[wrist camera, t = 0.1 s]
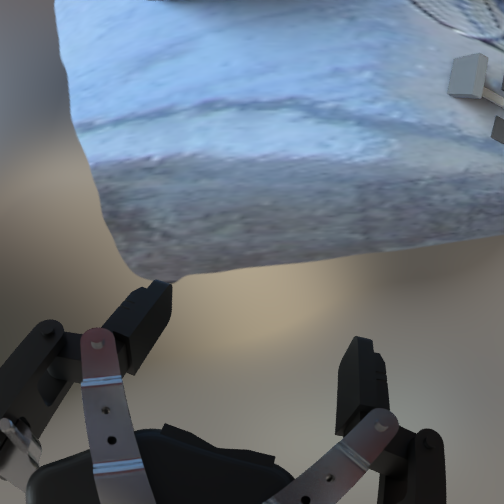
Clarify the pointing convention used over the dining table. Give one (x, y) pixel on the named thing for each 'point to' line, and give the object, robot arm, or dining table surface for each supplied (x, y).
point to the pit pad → (498, 130)
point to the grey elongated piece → (471, 79)
